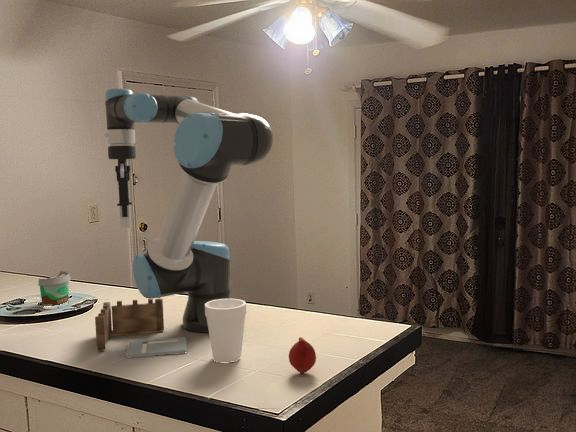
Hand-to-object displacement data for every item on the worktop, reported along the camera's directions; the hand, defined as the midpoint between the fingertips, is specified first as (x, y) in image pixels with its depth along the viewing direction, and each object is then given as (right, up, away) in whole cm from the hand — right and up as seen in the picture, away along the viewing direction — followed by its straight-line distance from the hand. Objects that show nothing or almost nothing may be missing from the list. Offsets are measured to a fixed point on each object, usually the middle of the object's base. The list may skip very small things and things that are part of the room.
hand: (125, 227), depth 168 cm
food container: (-25, -25, +17) cm, 40 cm away
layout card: (+15, -29, -25) cm, 41 cm away
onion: (+50, -31, -42) cm, 72 cm away
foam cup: (+32, -30, -32) cm, 55 cm away
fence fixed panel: (+6, -28, -11) cm, 30 cm away
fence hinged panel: (0, -28, -20) cm, 35 cm away
